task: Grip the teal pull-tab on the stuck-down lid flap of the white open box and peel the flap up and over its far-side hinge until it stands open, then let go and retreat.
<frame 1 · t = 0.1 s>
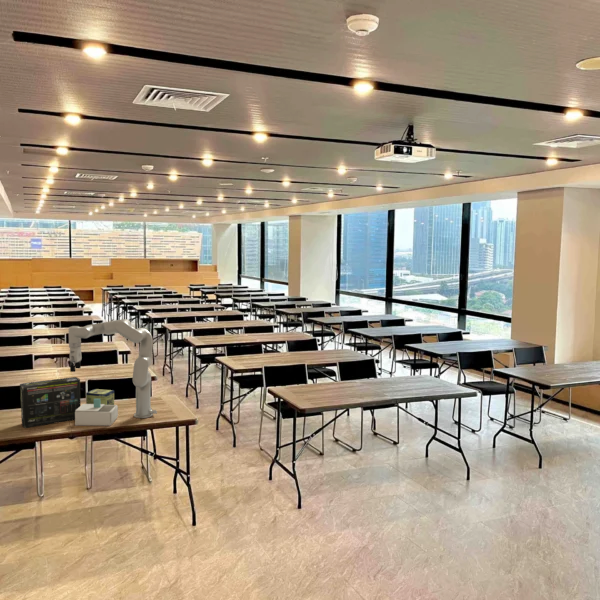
hand: (75, 369, 381), 31 cm above the table, fingers open, 9 cm apart
router box: (51, 421, 370), on the table
flap: (90, 403, 370), point 12 cm above the table, hinge at 0.0°
white open box: (96, 421, 371), on the table
protein box: (100, 413, 389), on the table
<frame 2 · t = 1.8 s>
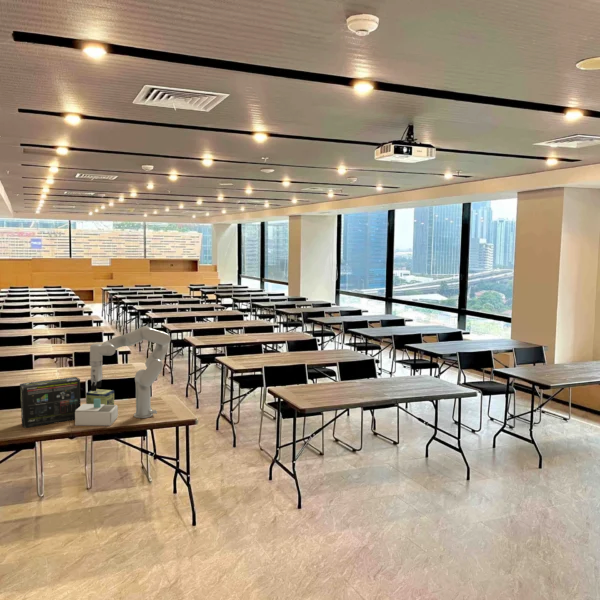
hand: (96, 389, 369), 22 cm above the table, fingers open, 9 cm apart
nothing on the table moved.
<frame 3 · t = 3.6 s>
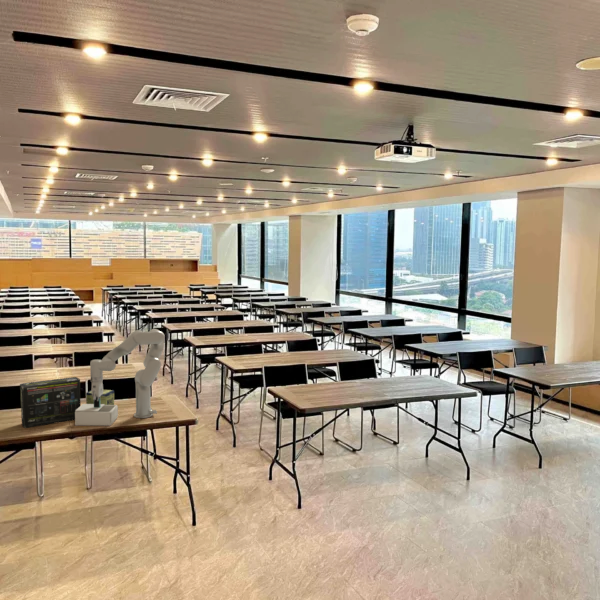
hand: (97, 406, 370), 10 cm above the table, fingers closed
flap: (90, 403, 370), point 12 cm above the table, hinge at 0.0°, touching gripper
everything else where it was.
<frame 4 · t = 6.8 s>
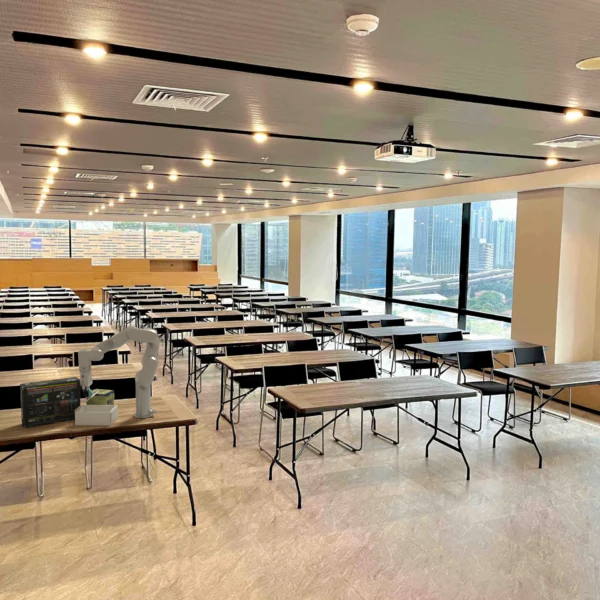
hand: (86, 396, 369), 17 cm above the table, fingers closed
flap: (83, 397, 369), point 16 cm above the table, hinge at 41.7°, touching gripper
everything else where it was.
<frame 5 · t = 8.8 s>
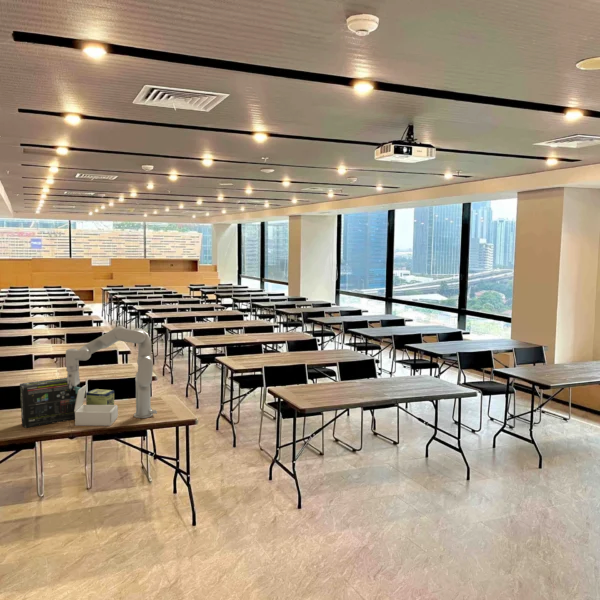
hand: (73, 395, 369), 17 cm above the table, fingers closed
flap: (76, 397, 369), point 17 cm above the table, hinge at 78.8°, touching gripper
everything else where it was.
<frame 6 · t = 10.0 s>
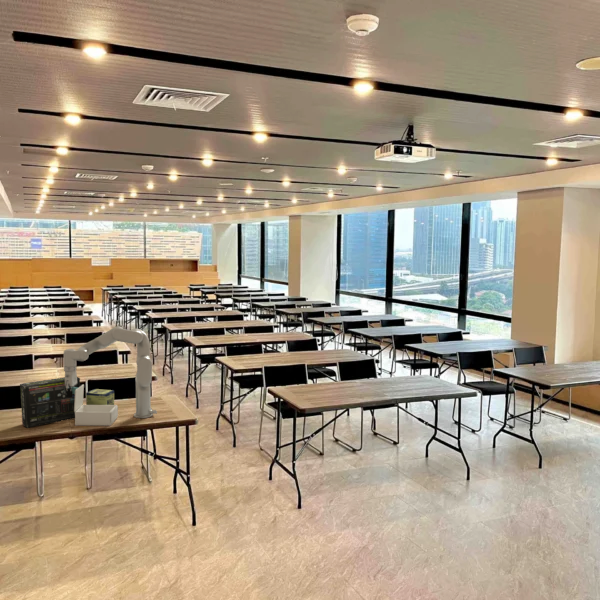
hand: (70, 395, 369), 17 cm above the table, fingers closed
router box: (52, 421, 370), on the table, touching gripper
flap: (74, 397, 369), point 16 cm above the table, hinge at 86.0°
everything else where it was.
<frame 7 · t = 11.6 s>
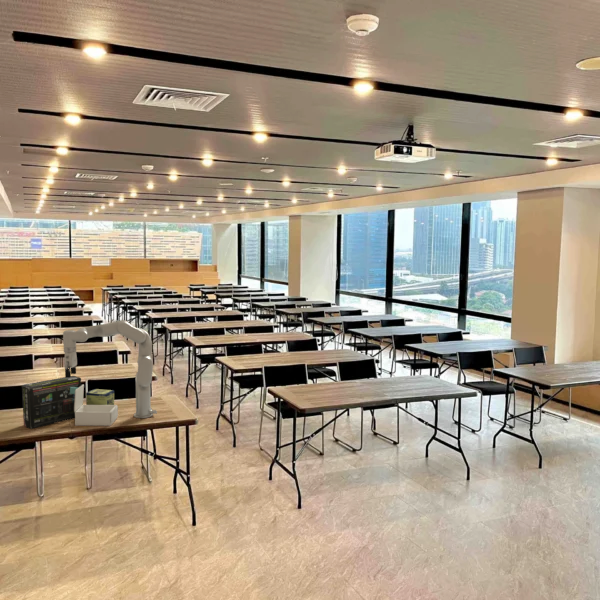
hand: (70, 375, 367), 31 cm above the table, fingers open, 9 cm apart
router box: (53, 421, 371), on the table
everything else where it was.
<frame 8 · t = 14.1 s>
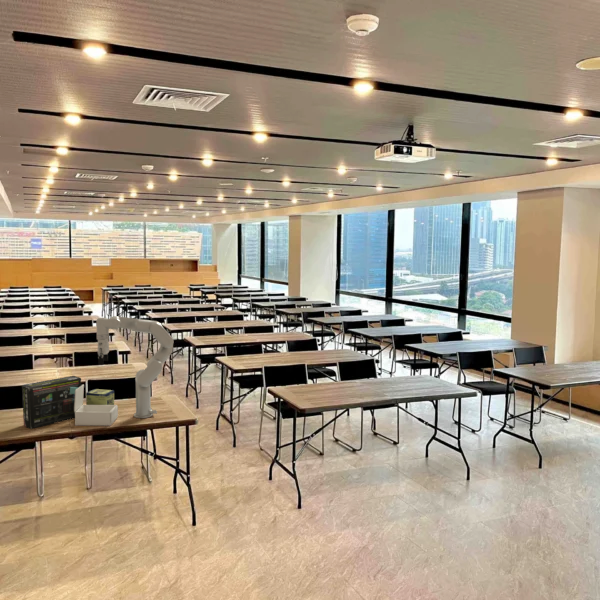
hand: (103, 362, 373), 38 cm above the table, fingers open, 9 cm apart
nothing on the table moved.
at the end: flap at +86° (first picture: +0°); the gripper is holding nothing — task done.
